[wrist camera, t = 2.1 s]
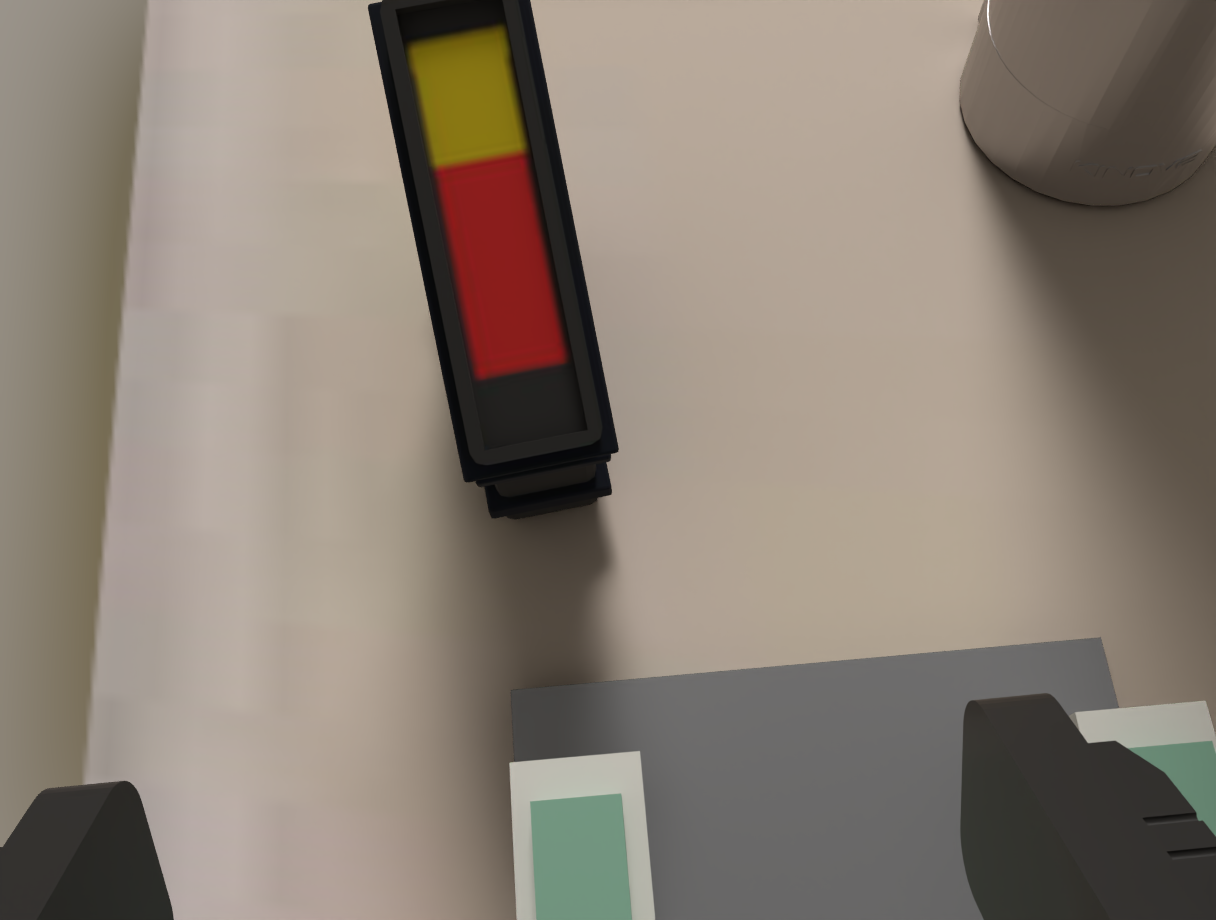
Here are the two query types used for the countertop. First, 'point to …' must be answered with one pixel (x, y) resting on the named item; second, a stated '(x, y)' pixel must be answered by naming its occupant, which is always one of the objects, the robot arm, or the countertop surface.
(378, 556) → the countertop surface
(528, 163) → the magazine
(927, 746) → the mounting plate
